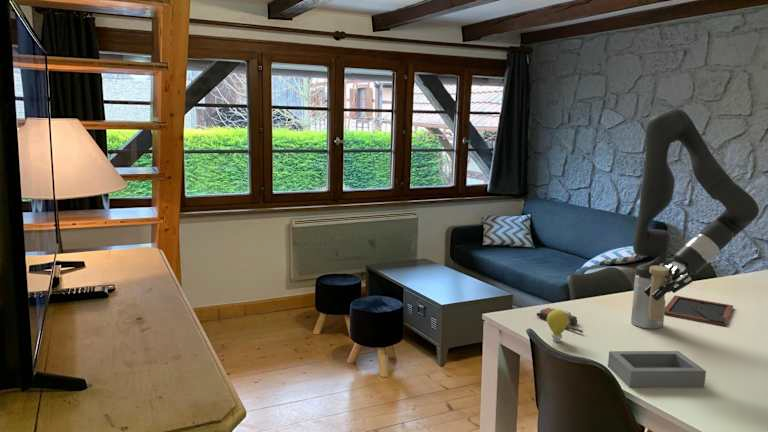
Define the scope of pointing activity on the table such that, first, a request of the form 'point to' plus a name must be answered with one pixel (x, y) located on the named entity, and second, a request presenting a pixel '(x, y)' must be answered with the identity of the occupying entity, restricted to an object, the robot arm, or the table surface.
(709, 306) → the picture frame
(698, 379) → the gray rectangular tray
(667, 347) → the table surface
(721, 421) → the table surface
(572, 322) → the walkie-talkie
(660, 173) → the robot arm
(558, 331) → the light bulb
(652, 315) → the handle
